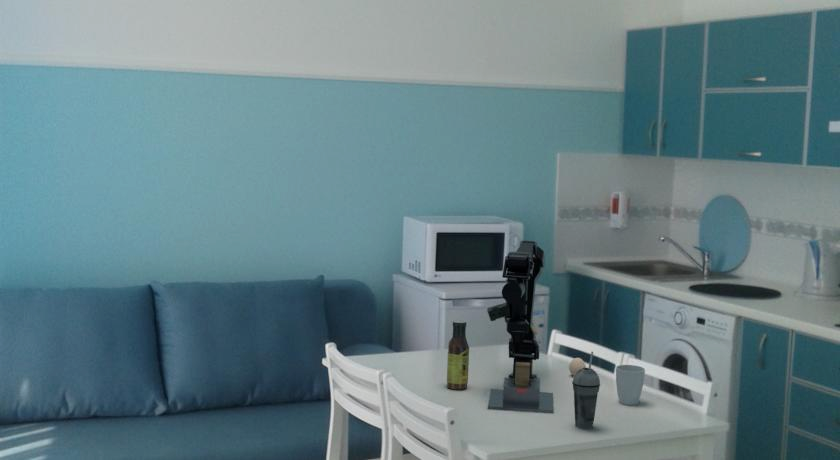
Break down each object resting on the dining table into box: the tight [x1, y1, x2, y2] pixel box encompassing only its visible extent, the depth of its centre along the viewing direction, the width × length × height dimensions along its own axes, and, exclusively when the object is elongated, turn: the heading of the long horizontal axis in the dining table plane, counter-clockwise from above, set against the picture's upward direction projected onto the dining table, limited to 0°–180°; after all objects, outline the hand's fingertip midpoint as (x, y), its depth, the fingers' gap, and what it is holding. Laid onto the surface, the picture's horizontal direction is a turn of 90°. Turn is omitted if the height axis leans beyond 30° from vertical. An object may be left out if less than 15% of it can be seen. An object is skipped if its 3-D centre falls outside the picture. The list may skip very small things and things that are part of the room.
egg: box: [568, 357, 587, 376], centre depth 314 cm, size 5×5×6 cm
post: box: [515, 362, 530, 386], centre depth 283 cm, size 4×4×10 cm
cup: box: [615, 364, 646, 406], centre depth 286 cm, size 8×8×10 cm
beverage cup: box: [572, 351, 601, 430], centre depth 262 cm, size 7×7×20 cm
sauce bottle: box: [446, 319, 470, 391], centre depth 296 cm, size 6×6×20 cm
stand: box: [487, 377, 555, 414], centre depth 284 cm, size 18×18×6 cm
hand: (515, 348), depth 293 cm, fingers open, 9 cm apart
